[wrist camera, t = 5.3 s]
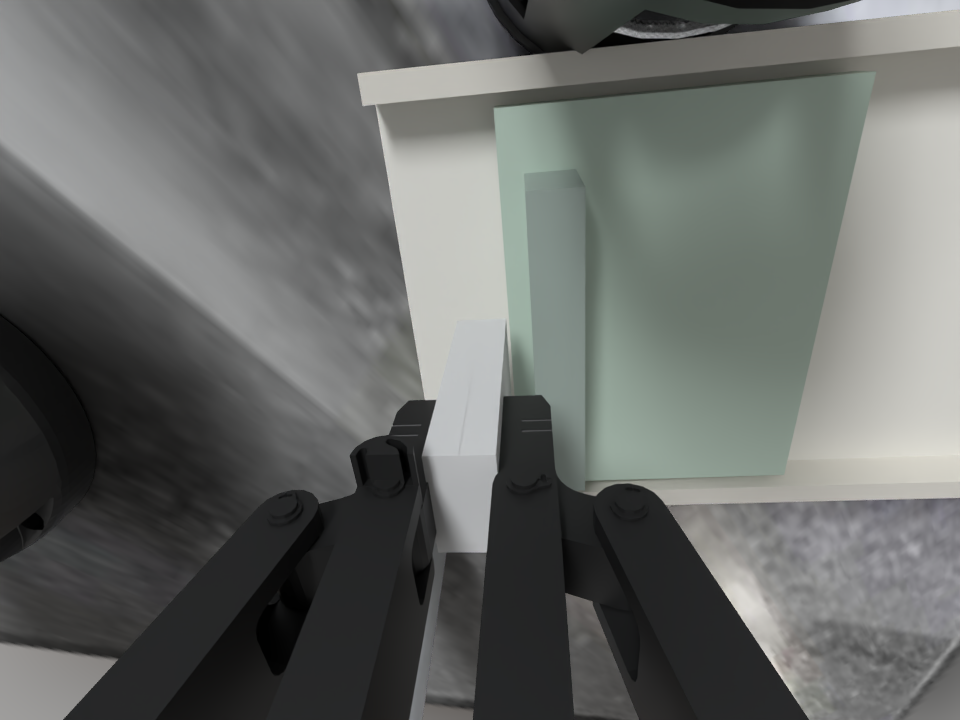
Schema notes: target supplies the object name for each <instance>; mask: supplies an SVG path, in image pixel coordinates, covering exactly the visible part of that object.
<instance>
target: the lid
mask: <svg viewBox="0 0 960 720" xmlns="http://www.w3.org/2000/svg"><path fill="white" fill-rule="evenodd" d="M875 75H876V71H848V72H838V73H827V74H817V75H807V76H797V77H786V78H776V79H766V80H756V81H745V82H735V83H725V84H715V85H704V86H694V87H684V88H674V89H663V90H653V91H643V92H633V93H622V94H612V95H602V96H591V97H581V98H571V99H561V100H550V101H540V102H530V103H520V104H509V105H499V106H495V107H494V121H495V134H496V148H497V162H498V175H499V189H500V203H501V217H502V230H503V244H504V258H505V271H506V285H507V299H508V313H509V326H510V340H511V354H512V368H513V381H514V395H515V396H526V395H542V396H543V397H544V398H545V400H546V401H547V402H548V403H549V405H550V406H551V420H552V432H553V446H554V460H555V470H556V474H557V476H558V477H559V479H560V480H561V482H563V483H564V484H565V485H566V486H567V487H569V488H571V489H573V490H575V491H580V490H585V481H596V480H629V479H663V478H697V477H730V476H764V475H784V473H785V469H786V464H787V460H788V456H789V451H790V447H791V443H792V438H793V434H794V429H795V425H796V421H797V416H798V412H799V407H800V403H801V399H802V394H803V390H804V386H805V381H806V377H807V372H808V368H809V364H810V359H811V355H812V351H813V346H814V342H815V337H816V333H817V329H818V324H819V320H820V316H821V311H822V307H823V302H824V298H825V294H826V289H827V285H828V281H829V276H830V272H831V267H832V263H833V259H834V254H835V250H836V246H837V241H838V237H839V232H840V228H841V224H842V219H843V215H844V211H845V206H846V202H847V197H848V193H849V189H850V184H851V180H852V176H853V171H854V167H855V162H856V158H857V154H858V149H859V145H860V140H861V136H862V132H863V127H864V123H865V119H866V114H867V110H868V105H869V101H870V97H871V92H872V88H873V84H874V79H875Z"/></svg>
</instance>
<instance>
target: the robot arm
mask: <svg viewBox="0 0 960 720" xmlns="http://www.w3.org/2000/svg"><path fill="white" fill-rule="evenodd" d="M350 459H351V463H352V467H353V471H354V475H355V479H356V483H357V489H356V492H355V493H354V494H352V495H350V496H347V497H344V498H341V499H337V500H333V501H329V502H325V503H321V504H319V502H318V500H317V498H316V497H315V496H314V495H313V494H312V493H310V492H307V491H304V490H291V491H287V492H283V493H279V494H277V495H275V496H273V497H271V498H269V499H268V500H266V501H265V502H264V503H263V504H262V505H260V506H259V507H258V508H257V509H256V510H255V511H254V512H253V514H252V515H251V516H250V517H249V518H248V519H247V520H246V521H245V522H244V523H243V524H242V526H241V527H240V528H239V529H238V530H237V531H236V532H235V533H234V534H233V535H232V536H231V538H230V539H229V540H228V541H227V542H226V543H225V544H224V545H223V546H222V547H221V548H220V549H219V551H218V552H217V553H216V554H215V555H214V556H213V557H212V558H211V559H210V560H209V561H208V563H207V564H206V565H205V566H204V567H203V568H202V569H201V570H200V571H199V572H198V573H197V575H196V576H195V577H194V578H193V579H192V580H191V581H190V582H189V583H188V584H187V585H186V587H185V588H184V589H183V590H182V591H181V592H180V593H179V594H178V595H177V596H176V597H175V599H174V600H173V601H172V602H171V603H170V604H169V605H168V606H167V607H166V608H165V609H164V610H163V612H162V613H161V614H160V615H159V616H158V617H157V618H156V619H155V620H154V621H153V622H152V624H151V625H150V626H149V627H148V628H147V629H146V630H145V631H144V632H143V633H142V634H141V636H140V637H139V638H138V639H137V640H136V641H135V642H134V643H133V644H132V645H131V646H130V648H129V649H128V650H127V651H126V652H125V653H124V654H123V655H122V656H121V657H120V658H119V659H118V661H117V662H116V663H115V664H114V665H113V666H112V667H111V668H110V669H109V670H108V671H107V673H106V674H105V675H104V676H103V677H102V678H101V679H100V680H99V681H98V682H97V684H96V685H95V686H94V687H93V688H92V689H91V690H90V691H89V692H88V693H87V694H86V695H85V697H84V698H83V699H82V700H81V701H80V702H79V703H78V704H77V705H76V706H75V707H74V709H73V710H72V711H71V712H70V713H69V714H68V715H67V716H66V717H65V718H64V719H63V720H409V718H410V712H411V707H412V701H413V695H414V689H415V684H416V678H417V672H418V667H419V661H420V655H421V649H422V644H423V638H424V632H425V626H426V621H427V615H428V609H429V603H430V598H431V592H432V586H433V580H434V575H435V568H434V560H433V554H432V553H433V548H434V543H435V537H436V543H437V549H438V553H444V552H487V555H486V567H485V580H484V592H483V604H482V616H481V628H480V640H479V653H478V665H477V677H476V689H475V701H474V713H473V720H574V708H573V694H572V681H571V667H570V653H569V639H568V625H567V611H566V597H565V593H568V594H571V595H574V596H578V597H581V598H584V599H587V600H591V601H593V606H594V609H595V611H596V614H597V616H598V619H599V621H600V624H601V626H602V628H603V631H604V633H605V636H606V638H607V641H608V643H609V646H610V648H611V651H612V653H613V656H614V658H615V661H616V663H617V666H618V668H619V670H620V673H621V675H622V678H623V680H624V683H625V685H626V688H627V690H628V693H629V695H630V698H631V700H632V703H633V705H634V708H635V710H636V712H637V715H638V717H639V720H809V719H808V718H807V716H806V715H805V713H804V712H803V710H802V709H801V707H800V706H799V704H798V703H797V701H796V700H795V698H794V697H793V695H792V694H791V692H790V691H789V689H788V688H787V686H786V685H785V683H784V682H783V680H782V679H781V677H780V676H779V674H778V673H777V671H776V670H775V668H774V667H773V665H772V664H771V662H770V661H769V659H768V658H767V656H766V655H765V653H764V652H763V650H762V649H761V647H760V646H759V644H758V643H757V641H756V640H755V638H754V637H753V635H752V634H751V632H750V631H749V629H748V628H747V626H746V625H745V623H744V622H743V620H742V619H741V617H740V616H739V614H738V613H737V611H736V610H735V608H734V607H733V605H732V604H731V602H730V601H729V599H728V598H727V596H726V595H725V593H724V592H723V590H722V589H721V587H720V586H719V584H718V583H717V581H716V580H715V578H714V577H713V575H712V574H711V572H710V571H709V569H708V568H707V567H706V565H705V564H704V562H703V561H702V559H701V558H700V556H699V555H698V553H697V552H696V550H695V549H694V547H693V546H692V544H691V543H690V541H689V540H688V538H687V537H686V535H685V534H684V532H683V531H682V529H681V528H680V526H679V525H678V523H677V522H676V520H675V519H674V517H673V516H672V514H671V513H670V511H669V510H668V508H667V507H666V505H665V504H664V502H663V501H662V500H661V499H660V498H659V497H658V496H657V495H656V494H655V493H654V492H653V491H651V490H649V489H647V488H645V487H643V486H639V485H634V484H630V483H625V484H614V485H611V486H608V487H606V488H604V489H603V490H602V491H600V492H599V493H598V494H597V495H596V496H592V495H588V494H584V493H581V492H577V491H575V490H573V489H571V488H569V487H567V486H566V485H565V484H564V483H563V482H561V480H560V479H559V477H558V476H557V474H556V470H555V460H554V446H553V432H552V420H551V406H550V405H549V403H548V402H547V401H546V400H545V398H544V397H543V396H542V395H526V396H511V383H510V368H509V354H508V339H507V324H506V318H502V319H481V320H461V321H457V324H456V328H455V332H454V335H453V339H452V343H451V347H450V351H449V354H448V358H447V362H446V366H445V370H444V373H443V377H442V381H441V385H440V389H439V392H438V396H437V400H414V401H408V402H407V403H406V404H405V405H404V406H403V407H402V408H401V409H400V410H399V411H398V412H397V414H396V417H395V420H394V422H393V427H392V428H391V431H390V433H389V435H386V436H379V437H375V438H372V439H369V440H367V441H364V442H363V443H362V444H360V445H359V446H357V447H356V448H355V449H354V450H353V452H352V453H351V454H350ZM95 462H96V454H95V444H94V439H93V435H92V431H91V428H90V425H89V422H88V419H87V417H86V414H85V412H84V410H83V408H82V406H81V404H80V402H79V400H78V399H77V397H76V395H75V393H74V392H73V390H72V389H71V387H70V386H69V384H68V383H67V381H66V380H65V379H64V377H63V376H62V375H61V373H60V372H59V371H58V370H57V368H56V367H55V366H54V365H53V364H52V362H51V361H50V360H49V359H48V358H47V357H46V356H45V355H44V354H43V353H42V351H41V350H40V349H39V348H38V347H37V346H35V345H34V344H33V343H32V342H31V341H30V340H29V339H28V338H27V337H26V336H25V335H24V334H22V333H21V332H20V331H19V330H18V329H17V328H15V327H14V326H13V325H12V324H10V323H9V322H8V321H7V320H5V319H4V318H3V317H1V316H0V562H1V561H3V560H5V559H7V558H9V557H11V556H12V555H14V554H16V553H18V552H20V551H21V550H23V549H25V548H27V547H28V546H30V545H32V544H33V543H35V542H37V541H38V540H39V539H41V538H42V537H43V536H44V535H46V534H47V533H48V532H50V531H51V530H52V529H53V528H54V527H55V526H56V525H57V524H58V523H59V522H60V521H61V520H62V519H63V518H64V517H65V516H66V515H67V514H68V513H69V512H70V511H71V510H72V509H73V508H74V507H75V506H76V505H77V504H78V503H79V502H80V500H81V499H82V498H83V497H84V496H85V494H86V492H87V491H88V489H89V487H90V485H91V482H92V479H93V476H94V471H95Z"/></svg>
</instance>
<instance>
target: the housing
mask: <svg viewBox="0 0 960 720" xmlns="http://www.w3.org/2000/svg"><path fill="white" fill-rule="evenodd" d="M848 71H876V75H875V79H874V84H873V88H872V92H871V97H870V101H869V105H868V110H867V114H866V119H865V123H864V127H863V132H862V136H861V140H860V145H859V149H858V154H857V158H856V162H855V167H854V171H853V176H852V180H851V184H850V189H849V193H848V197H847V202H846V206H845V211H844V215H843V219H842V224H841V228H840V232H839V237H838V241H837V246H836V250H835V254H834V259H833V263H832V267H831V272H830V276H829V281H828V285H827V289H826V294H825V298H824V302H823V307H822V311H821V316H820V320H819V324H818V329H817V333H816V337H815V342H814V346H813V351H812V355H811V359H810V364H809V368H808V372H807V377H806V381H805V386H804V390H803V394H802V399H801V403H800V407H799V412H798V416H797V421H796V425H795V429H794V434H793V438H792V443H791V447H790V451H789V456H788V460H787V464H786V469H785V473H784V475H764V476H730V477H697V478H663V479H629V480H596V481H585V490H580V491H577V492H581V493H584V494H588V495H592V496H596V495H597V494H598V493H599V492H600V491H602V490H603V489H604V488H606V487H608V486H611V485H614V484H625V483H630V484H634V485H639V486H643V487H645V488H647V489H649V490H651V491H653V492H654V493H655V494H656V495H657V496H658V497H659V498H660V499H661V500H662V501H663V502H664V504H665V505H691V504H731V503H771V502H811V501H851V500H891V499H931V498H960V10H951V11H942V12H932V13H923V14H914V15H904V16H895V17H885V18H876V19H866V20H857V21H847V22H838V23H829V24H819V25H810V26H800V27H791V28H781V29H772V30H762V31H753V32H744V33H734V34H725V35H715V36H706V37H696V38H687V39H677V40H668V41H659V42H649V43H640V44H630V45H621V46H611V47H602V48H592V49H589V50H588V51H586V52H585V53H583V54H581V53H579V52H577V51H575V50H574V51H564V52H555V53H545V54H536V55H526V56H517V57H507V58H498V59H489V60H479V61H470V62H460V63H451V64H441V65H432V66H423V67H413V68H404V69H394V70H385V71H375V72H366V73H357V76H358V81H359V87H360V93H361V98H362V104H363V106H366V105H376V110H377V116H378V122H379V128H380V134H381V140H382V146H383V152H384V158H385V164H386V170H387V176H388V182H389V188H390V194H391V200H392V206H393V212H394V218H395V224H396V229H397V235H398V241H399V247H400V253H401V259H402V265H403V271H404V277H405V283H406V289H407V295H408V301H409V307H410V313H411V319H412V325H413V331H414V337H415V343H416V349H417V355H418V361H419V367H420V373H421V379H422V385H423V391H424V397H425V400H437V396H438V392H439V389H440V385H441V381H442V377H443V373H444V370H445V366H446V362H447V358H448V354H449V351H450V347H451V343H452V339H453V335H454V332H455V328H456V324H457V321H461V320H481V319H502V318H506V324H507V339H508V354H509V368H510V383H511V396H515V395H514V381H513V368H512V354H511V340H510V326H509V313H508V299H507V285H506V271H505V258H504V244H503V230H502V217H501V203H500V189H499V175H498V162H497V148H496V134H495V121H494V107H495V106H499V105H509V104H520V103H530V102H540V101H550V100H561V99H571V98H581V97H591V96H602V95H612V94H622V93H633V92H643V91H653V90H663V89H674V88H684V87H694V86H704V85H715V84H725V83H735V82H745V81H756V80H766V79H776V78H786V77H797V76H807V75H817V74H827V73H838V72H848Z"/></svg>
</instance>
